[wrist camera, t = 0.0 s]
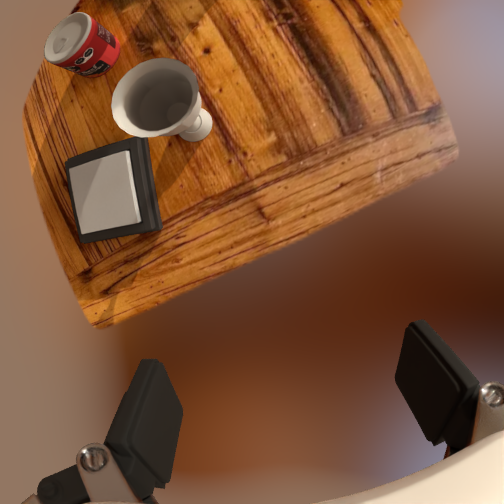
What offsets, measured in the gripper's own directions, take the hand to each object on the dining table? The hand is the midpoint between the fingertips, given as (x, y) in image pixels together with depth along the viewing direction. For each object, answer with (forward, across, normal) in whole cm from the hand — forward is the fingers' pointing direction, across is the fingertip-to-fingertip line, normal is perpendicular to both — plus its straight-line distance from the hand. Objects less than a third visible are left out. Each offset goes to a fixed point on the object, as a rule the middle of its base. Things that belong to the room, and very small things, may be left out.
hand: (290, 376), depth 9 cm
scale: (+31, +21, -7) cm, 38 cm away
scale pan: (+29, +21, -7) cm, 36 cm away
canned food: (+31, +21, -30) cm, 48 cm away
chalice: (+31, +7, -14) cm, 35 cm away
